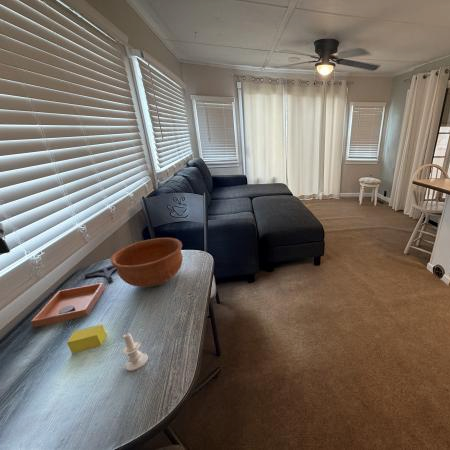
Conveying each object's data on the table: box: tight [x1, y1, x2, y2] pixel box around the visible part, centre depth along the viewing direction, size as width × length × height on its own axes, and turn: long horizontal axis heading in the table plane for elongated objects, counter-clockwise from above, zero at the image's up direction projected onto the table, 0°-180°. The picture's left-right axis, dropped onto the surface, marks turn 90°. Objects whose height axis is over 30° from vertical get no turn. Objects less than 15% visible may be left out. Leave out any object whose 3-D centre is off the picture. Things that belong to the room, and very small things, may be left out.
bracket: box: [83, 264, 117, 284], centre depth 105 cm, size 14×15×3 cm
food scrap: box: [59, 305, 76, 314], centre depth 82 cm, size 4×4×2 cm
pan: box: [30, 282, 106, 328], centre depth 87 cm, size 14×17×3 cm
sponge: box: [66, 324, 107, 354], centre depth 71 cm, size 7×4×4 cm, turn 112°
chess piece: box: [122, 332, 149, 372], centre depth 63 cm, size 5×5×10 cm
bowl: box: [109, 237, 183, 288], centre depth 98 cm, size 25×25×15 cm
